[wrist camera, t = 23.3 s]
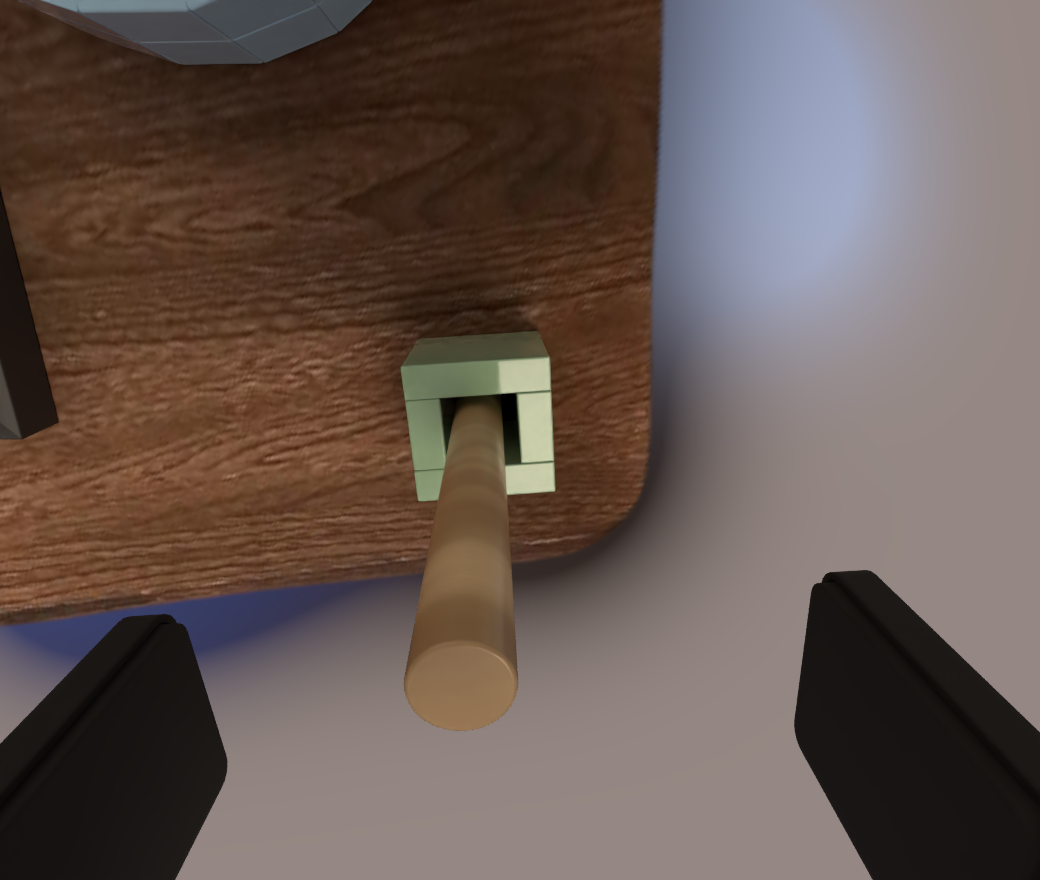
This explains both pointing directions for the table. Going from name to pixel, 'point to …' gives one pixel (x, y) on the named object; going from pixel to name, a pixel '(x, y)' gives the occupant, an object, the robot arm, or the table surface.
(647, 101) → the table surface
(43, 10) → the light blue round tray
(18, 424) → the picture frame
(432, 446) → the holder
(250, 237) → the table surface
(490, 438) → the stick
